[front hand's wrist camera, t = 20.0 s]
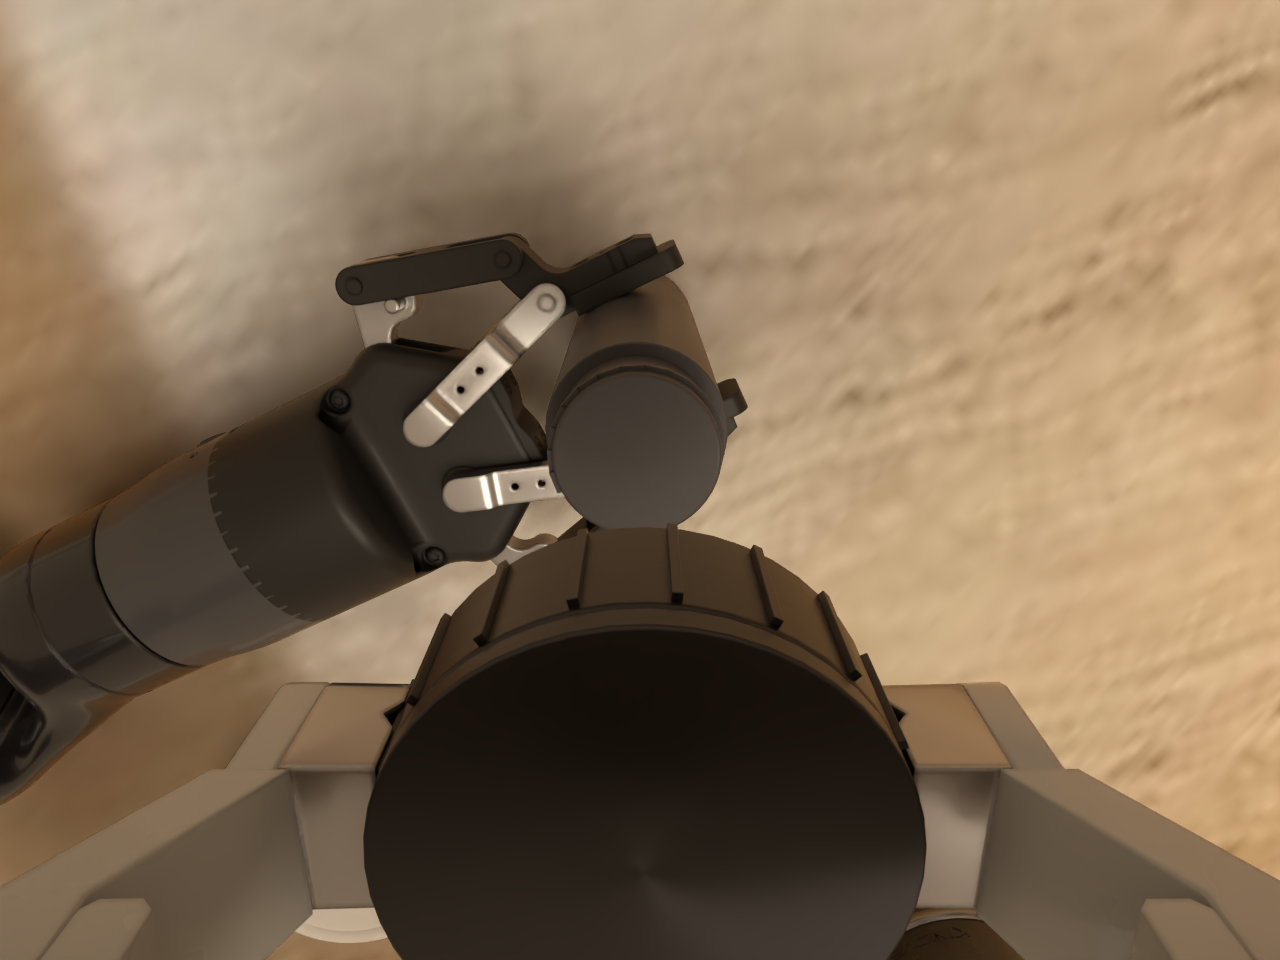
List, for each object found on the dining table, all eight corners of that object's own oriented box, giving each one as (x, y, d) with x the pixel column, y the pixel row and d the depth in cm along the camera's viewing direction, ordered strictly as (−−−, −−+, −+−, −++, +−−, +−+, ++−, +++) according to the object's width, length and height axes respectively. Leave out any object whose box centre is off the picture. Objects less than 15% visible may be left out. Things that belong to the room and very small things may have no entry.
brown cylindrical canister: (671, 251, 34) (701, 331, 19) (706, 360, 36) (760, 515, 21) (563, 289, 35) (507, 397, 20) (601, 394, 36) (577, 572, 21)
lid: (493, 942, 12) (461, 1112, 10) (345, 577, 10) (266, 691, 8) (905, 865, 11) (965, 1027, 9) (833, 466, 9) (886, 556, 7)
